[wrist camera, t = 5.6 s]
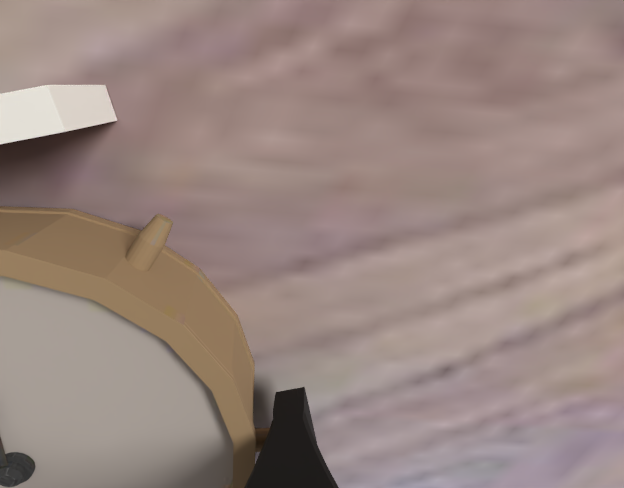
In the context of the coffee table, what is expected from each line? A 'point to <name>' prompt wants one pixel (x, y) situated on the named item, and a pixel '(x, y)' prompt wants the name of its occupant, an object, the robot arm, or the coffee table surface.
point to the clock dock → (52, 110)
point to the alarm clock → (117, 360)
